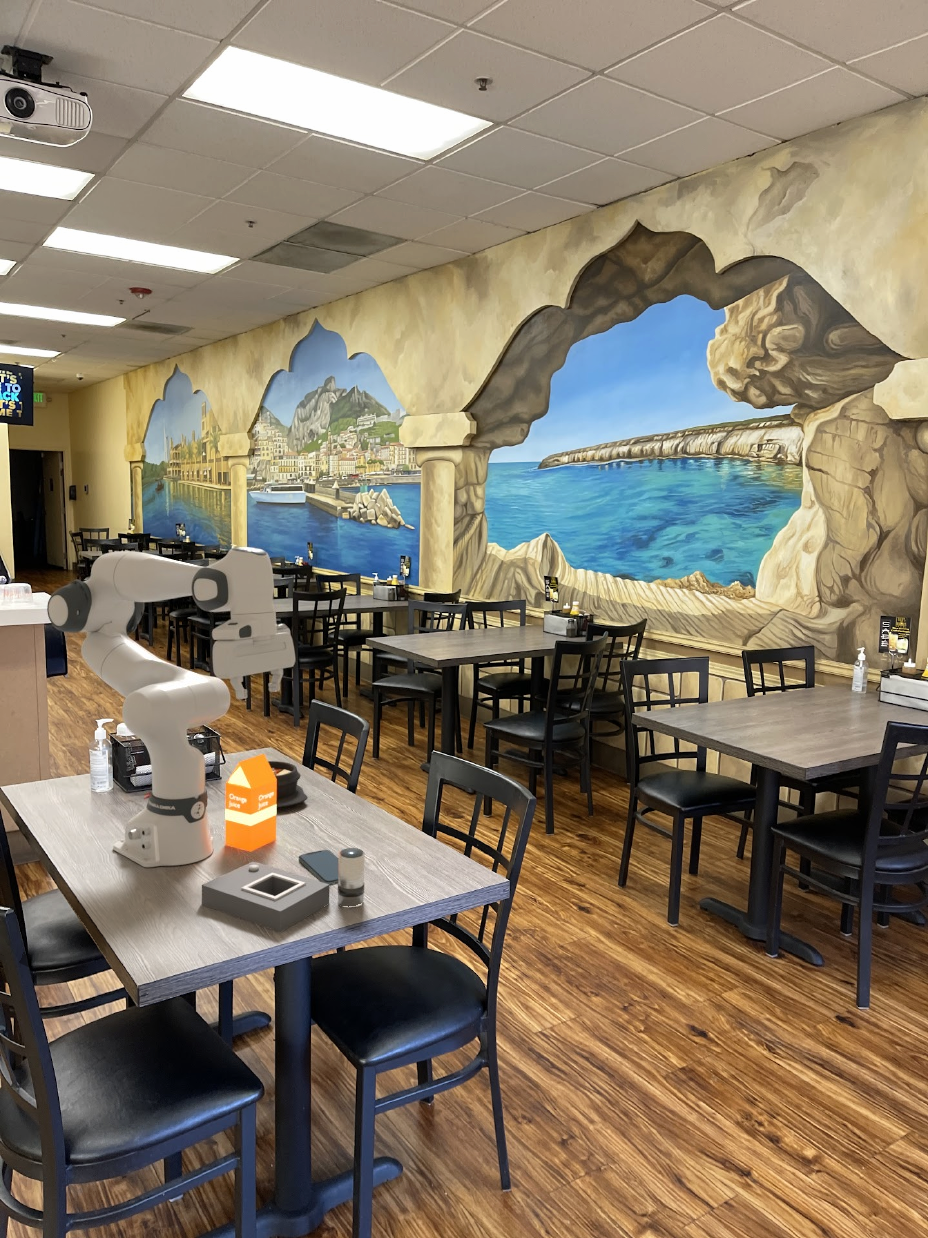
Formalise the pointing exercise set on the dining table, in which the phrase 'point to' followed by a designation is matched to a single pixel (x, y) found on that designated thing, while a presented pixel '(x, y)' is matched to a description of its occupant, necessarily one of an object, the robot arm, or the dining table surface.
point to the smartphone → (322, 865)
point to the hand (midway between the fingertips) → (258, 695)
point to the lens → (351, 877)
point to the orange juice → (251, 805)
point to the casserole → (287, 784)
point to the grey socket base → (265, 895)
